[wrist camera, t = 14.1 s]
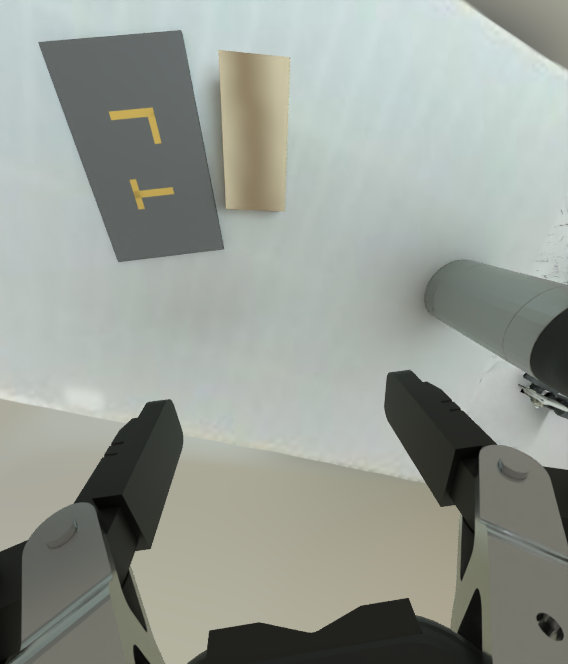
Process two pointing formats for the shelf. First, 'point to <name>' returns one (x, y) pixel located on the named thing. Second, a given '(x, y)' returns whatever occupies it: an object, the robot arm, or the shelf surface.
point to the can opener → (545, 396)
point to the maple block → (254, 129)
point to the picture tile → (138, 140)
